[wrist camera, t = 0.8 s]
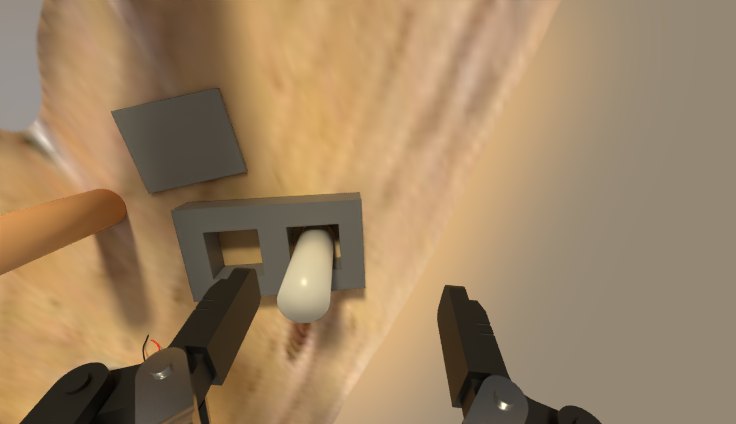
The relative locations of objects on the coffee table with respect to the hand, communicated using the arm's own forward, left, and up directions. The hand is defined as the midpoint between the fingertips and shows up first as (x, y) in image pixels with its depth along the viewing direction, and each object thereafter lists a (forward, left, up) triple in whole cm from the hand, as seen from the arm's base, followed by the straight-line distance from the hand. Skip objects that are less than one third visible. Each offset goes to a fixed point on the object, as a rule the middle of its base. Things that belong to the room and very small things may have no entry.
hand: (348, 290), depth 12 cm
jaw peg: (0, -24, -20) cm, 31 cm away
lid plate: (-6, -15, -20) cm, 26 cm away
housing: (+5, -7, -20) cm, 22 cm away
